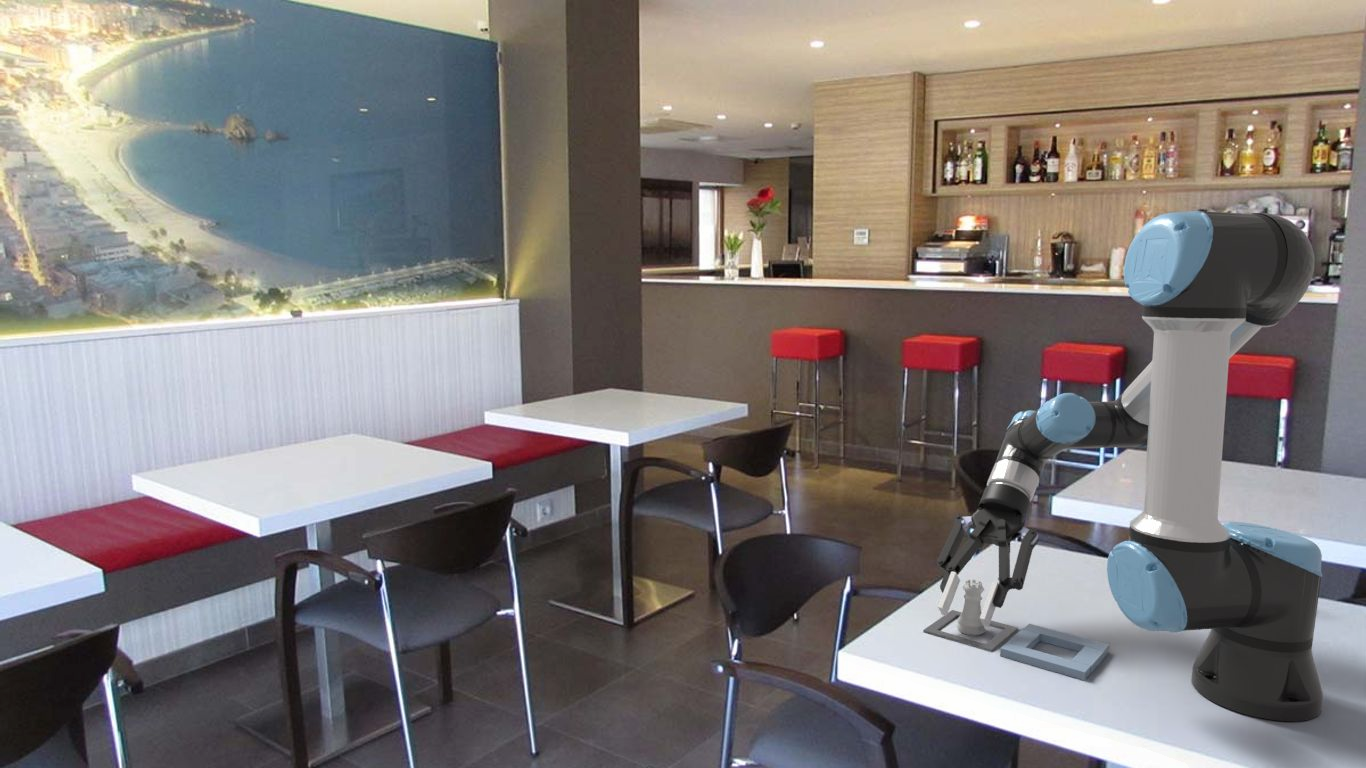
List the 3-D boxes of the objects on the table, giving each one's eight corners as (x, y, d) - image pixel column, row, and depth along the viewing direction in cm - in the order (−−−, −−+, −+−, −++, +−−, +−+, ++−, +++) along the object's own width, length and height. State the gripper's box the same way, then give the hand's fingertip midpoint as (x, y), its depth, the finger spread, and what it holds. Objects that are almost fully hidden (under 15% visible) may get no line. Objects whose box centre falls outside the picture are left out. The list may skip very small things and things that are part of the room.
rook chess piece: (966, 637, 143) (969, 588, 142) (950, 626, 147) (953, 578, 146) (991, 635, 144) (994, 586, 143) (975, 624, 149) (978, 576, 147)
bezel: (1018, 629, 147) (1018, 627, 146) (991, 651, 138) (991, 649, 138) (952, 611, 153) (952, 609, 153) (923, 631, 145) (923, 630, 145)
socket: (1109, 652, 138) (1109, 644, 138) (1084, 680, 129) (1085, 672, 129) (1028, 630, 146) (1028, 623, 146) (999, 655, 137) (1000, 648, 137)
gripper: (1071, 517, 149) (1029, 645, 139) (959, 496, 161) (912, 612, 151) (1063, 491, 144) (1019, 622, 134) (948, 472, 156) (899, 590, 146)
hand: (962, 616), depth 143 cm, fingers open, 6 cm apart
